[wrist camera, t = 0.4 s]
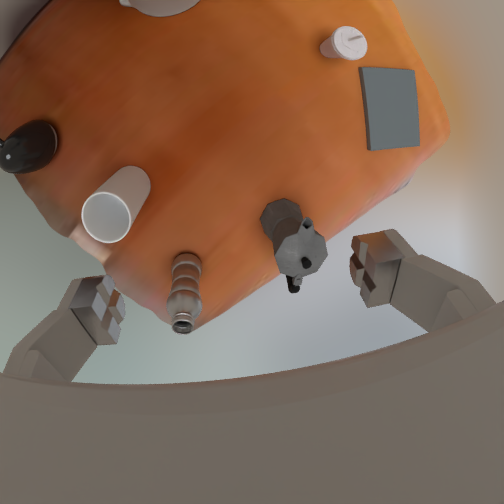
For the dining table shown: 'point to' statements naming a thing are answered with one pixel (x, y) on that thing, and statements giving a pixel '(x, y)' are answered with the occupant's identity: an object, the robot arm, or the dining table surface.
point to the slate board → (390, 108)
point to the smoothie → (344, 44)
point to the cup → (116, 204)
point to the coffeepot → (293, 241)
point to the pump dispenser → (28, 148)
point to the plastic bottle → (185, 293)
